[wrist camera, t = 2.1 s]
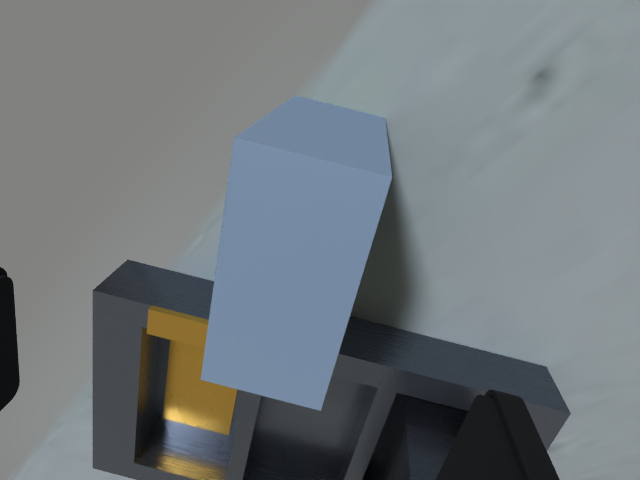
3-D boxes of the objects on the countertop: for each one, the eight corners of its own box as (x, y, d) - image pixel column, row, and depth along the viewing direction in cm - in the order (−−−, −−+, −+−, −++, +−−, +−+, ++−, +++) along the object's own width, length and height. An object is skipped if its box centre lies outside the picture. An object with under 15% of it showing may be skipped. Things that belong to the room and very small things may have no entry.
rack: (127, 259, 21) (21, 352, 14) (546, 366, 20) (620, 508, 14) (121, 425, 25) (38, 549, 19) (461, 514, 25) (489, 668, 19)
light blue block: (294, 95, 17) (232, 137, 9) (385, 118, 17) (393, 177, 9) (264, 254, 20) (199, 379, 12) (341, 274, 20) (321, 410, 12)
